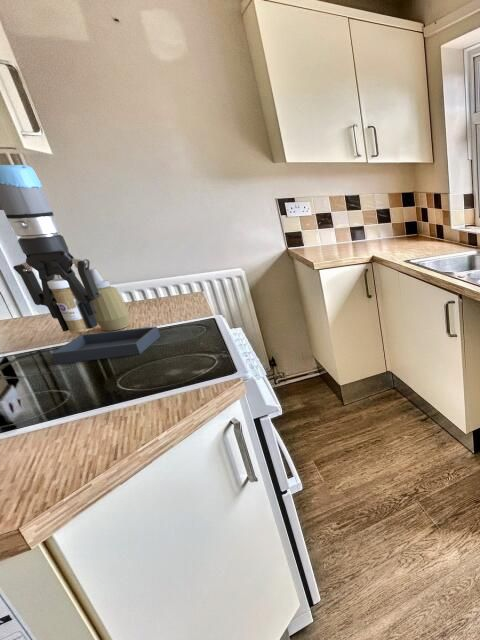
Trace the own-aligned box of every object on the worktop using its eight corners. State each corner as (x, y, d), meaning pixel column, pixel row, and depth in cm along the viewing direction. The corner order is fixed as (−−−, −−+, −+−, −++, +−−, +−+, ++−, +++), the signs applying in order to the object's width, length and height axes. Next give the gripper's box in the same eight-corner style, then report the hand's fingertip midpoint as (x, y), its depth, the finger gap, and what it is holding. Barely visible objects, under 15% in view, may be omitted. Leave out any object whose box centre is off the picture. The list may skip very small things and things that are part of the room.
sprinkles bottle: (65, 334, 106) (40, 282, 101) (78, 328, 110) (56, 277, 105) (85, 332, 107) (62, 281, 101) (98, 326, 111) (77, 276, 105)
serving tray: (56, 364, 104) (50, 353, 102) (85, 344, 115) (81, 334, 114) (140, 354, 109) (136, 343, 108) (160, 336, 120) (157, 326, 119)
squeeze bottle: (125, 321, 132) (103, 265, 125) (139, 325, 129) (117, 267, 122) (93, 330, 126) (67, 271, 119) (107, 334, 122) (81, 273, 115)
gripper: (-22, 240, 93) (27, 338, 102) (77, 235, 98) (115, 328, 107) (2, 236, 100) (46, 327, 109) (94, 231, 105) (129, 319, 114)
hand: (80, 328), depth 108 cm, fingers closed on sprinkles bottle, 4 cm apart
